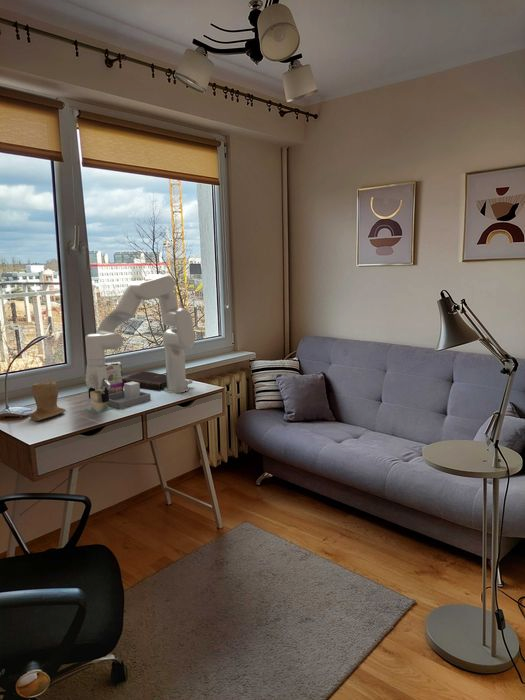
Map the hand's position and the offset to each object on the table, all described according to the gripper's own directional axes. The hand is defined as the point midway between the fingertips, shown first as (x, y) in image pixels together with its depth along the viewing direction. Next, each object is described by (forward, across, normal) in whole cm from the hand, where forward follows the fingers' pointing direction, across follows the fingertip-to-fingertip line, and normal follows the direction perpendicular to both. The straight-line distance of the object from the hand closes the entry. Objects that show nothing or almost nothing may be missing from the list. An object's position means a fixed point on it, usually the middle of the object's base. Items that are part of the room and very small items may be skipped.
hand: (98, 400), depth 220 cm
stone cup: (+5, -11, -19) cm, 23 cm away
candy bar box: (+5, -15, +17) cm, 23 cm away
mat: (+5, 0, 0) cm, 5 cm away
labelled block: (+4, 0, 0) cm, 4 cm away
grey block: (+4, 0, +18) cm, 18 cm away
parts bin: (+5, 0, +14) cm, 15 cm away
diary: (+5, -16, +42) cm, 46 cm away
